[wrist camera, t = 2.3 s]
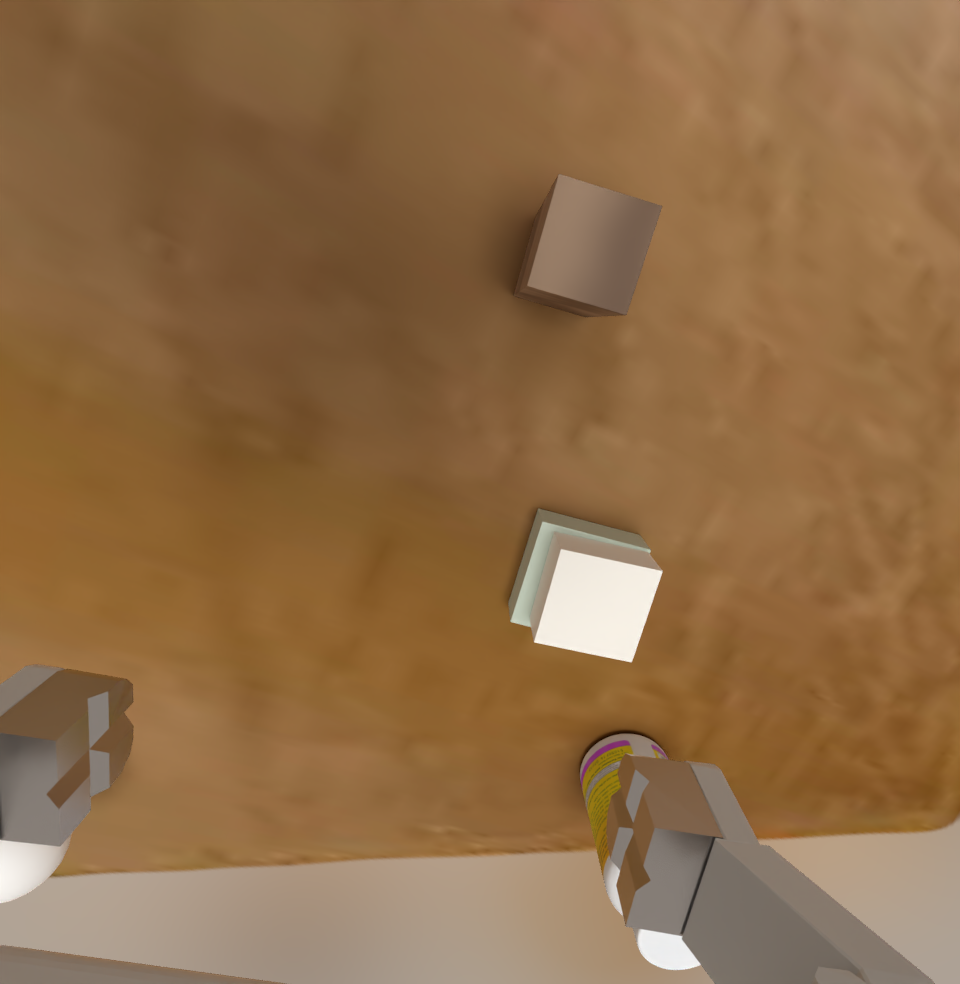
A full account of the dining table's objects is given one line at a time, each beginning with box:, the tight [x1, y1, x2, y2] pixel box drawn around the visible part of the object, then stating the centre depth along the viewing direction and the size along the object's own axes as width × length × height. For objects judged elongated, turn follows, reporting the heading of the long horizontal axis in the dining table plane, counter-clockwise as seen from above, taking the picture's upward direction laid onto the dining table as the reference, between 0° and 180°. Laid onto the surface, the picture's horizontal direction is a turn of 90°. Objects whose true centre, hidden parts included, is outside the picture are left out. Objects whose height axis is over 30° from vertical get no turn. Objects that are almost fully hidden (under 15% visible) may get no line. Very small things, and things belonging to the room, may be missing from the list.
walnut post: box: [514, 174, 662, 317], centre depth 30 cm, size 4×4×10 cm
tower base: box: [508, 508, 651, 627], centre depth 39 cm, size 7×7×3 cm
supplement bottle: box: [580, 734, 701, 970], centre depth 38 cm, size 7×7×13 cm
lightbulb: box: [0, 833, 72, 903], centre depth 38 cm, size 6×6×11 cm
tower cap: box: [530, 531, 663, 662], centre depth 36 cm, size 6×6×3 cm
